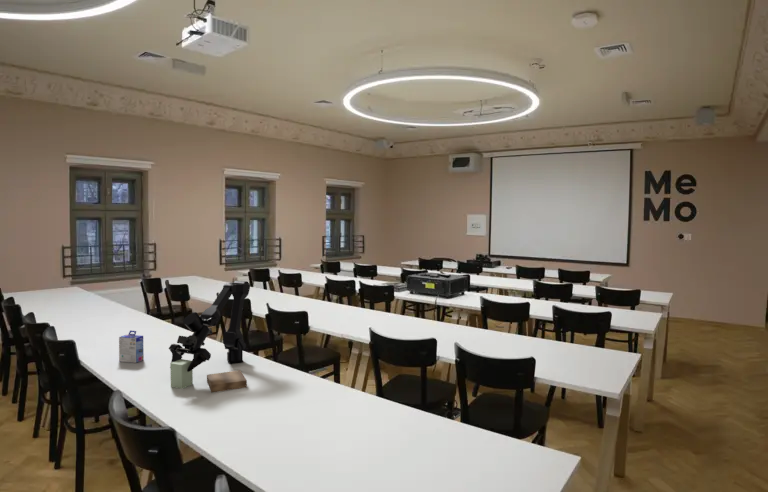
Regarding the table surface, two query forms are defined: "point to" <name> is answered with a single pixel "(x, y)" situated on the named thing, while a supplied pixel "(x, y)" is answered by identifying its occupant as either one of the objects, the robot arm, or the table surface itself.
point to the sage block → (181, 374)
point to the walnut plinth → (226, 381)
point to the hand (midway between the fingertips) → (179, 369)
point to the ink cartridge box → (131, 348)
